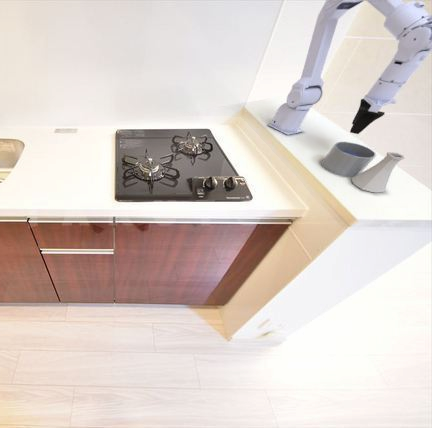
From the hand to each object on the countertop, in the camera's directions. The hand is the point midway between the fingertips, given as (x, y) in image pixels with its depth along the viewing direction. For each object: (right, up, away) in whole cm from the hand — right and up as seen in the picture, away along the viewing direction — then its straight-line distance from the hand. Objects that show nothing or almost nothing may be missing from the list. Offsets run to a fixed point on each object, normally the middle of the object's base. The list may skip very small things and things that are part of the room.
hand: (354, 128), depth 72 cm
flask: (-3, -19, -6) cm, 20 cm away
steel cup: (-4, -12, +1) cm, 13 cm away
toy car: (-4, -12, 0) cm, 13 cm away
